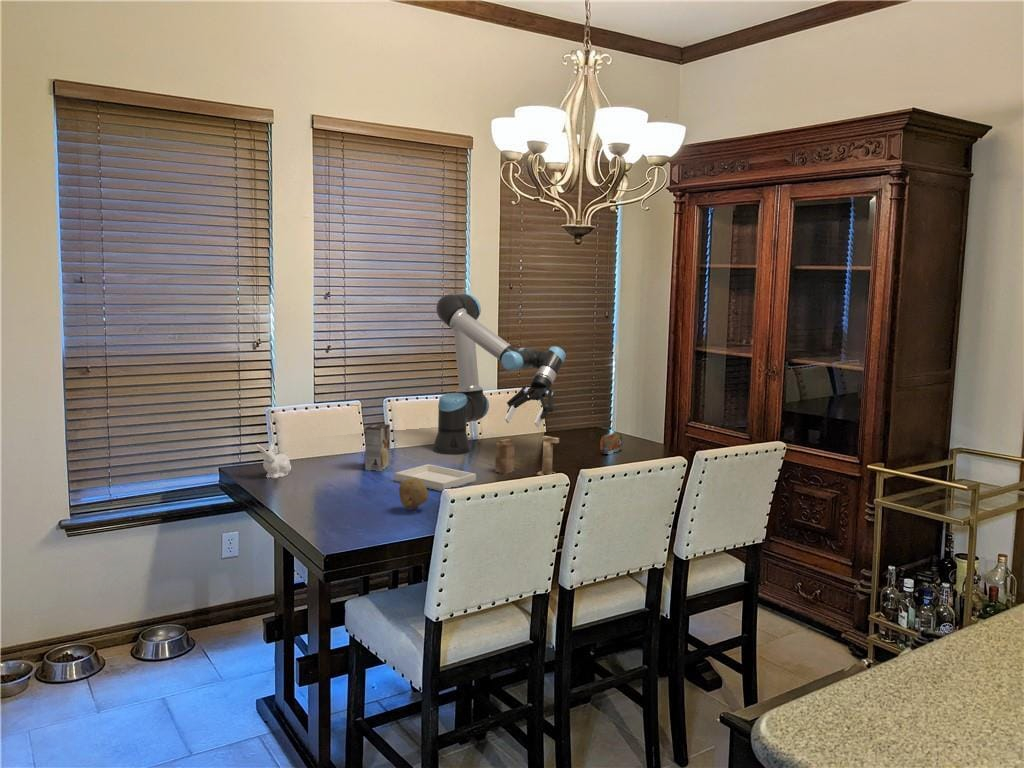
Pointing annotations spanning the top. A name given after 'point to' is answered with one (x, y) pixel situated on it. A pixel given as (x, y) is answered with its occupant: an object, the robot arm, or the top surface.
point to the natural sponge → (413, 493)
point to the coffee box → (377, 447)
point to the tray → (436, 476)
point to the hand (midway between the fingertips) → (521, 423)
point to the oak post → (547, 454)
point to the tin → (610, 442)
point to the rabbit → (275, 463)
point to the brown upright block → (504, 456)
